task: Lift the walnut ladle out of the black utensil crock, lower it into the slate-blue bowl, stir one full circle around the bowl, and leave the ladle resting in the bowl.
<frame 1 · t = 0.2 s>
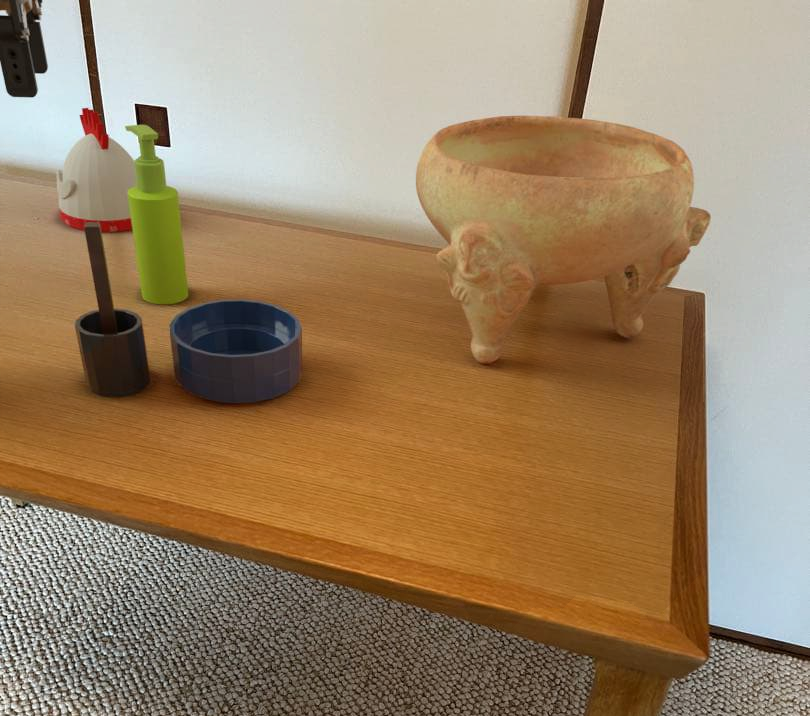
hand: (29, 83, 66), 30 cm above the table, tool pointing down, fingers open, 8 cm apart
mixing bowl: (239, 375, 92), on the table
decorative bowl: (528, 322, 109), on the table
soap dispenser: (163, 295, 107), on the table
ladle: (118, 377, 89), resting on crock
kitchen timer: (108, 217, 127), on the table
crock: (119, 381, 89), on the table
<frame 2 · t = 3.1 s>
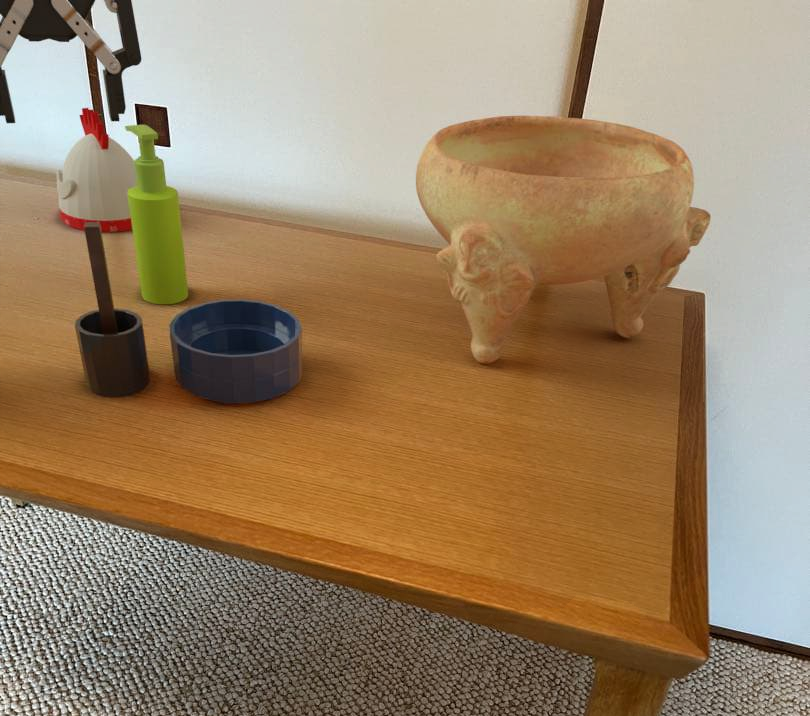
hand: (63, 120, 71), 26 cm above the table, tool pointing down, fingers open, 8 cm apart
nothing on the table moved.
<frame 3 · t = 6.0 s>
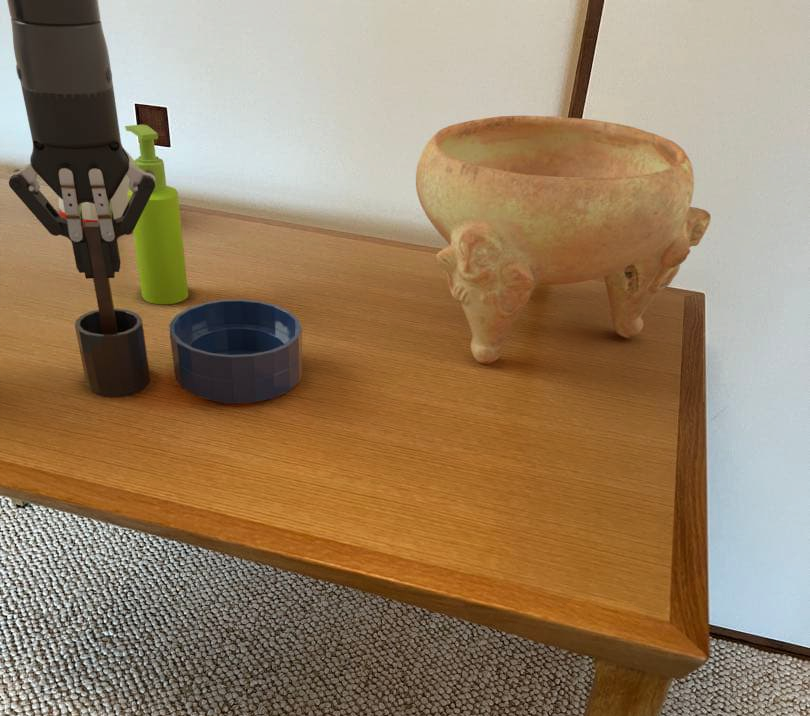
hand: (100, 274, 81), 12 cm above the table, tool pointing down, fingers closed on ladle
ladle: (118, 377, 89), point 1 cm above the table, touching gripper
everything else where it was.
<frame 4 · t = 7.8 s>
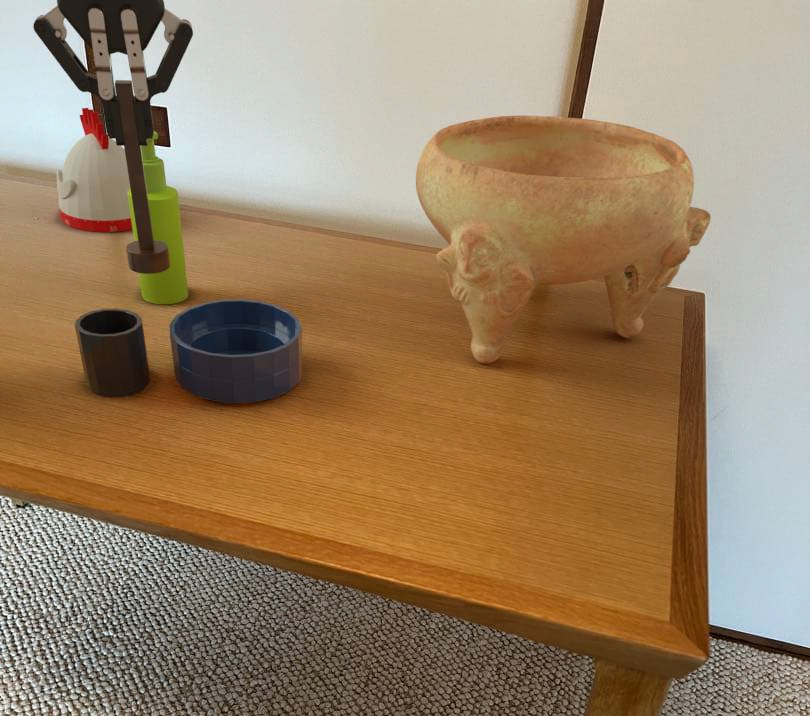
hand: (131, 142, 74), 24 cm above the table, tool pointing down, fingers closed on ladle
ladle: (149, 266, 82), point 13 cm above the table, touching gripper
everything else where it was.
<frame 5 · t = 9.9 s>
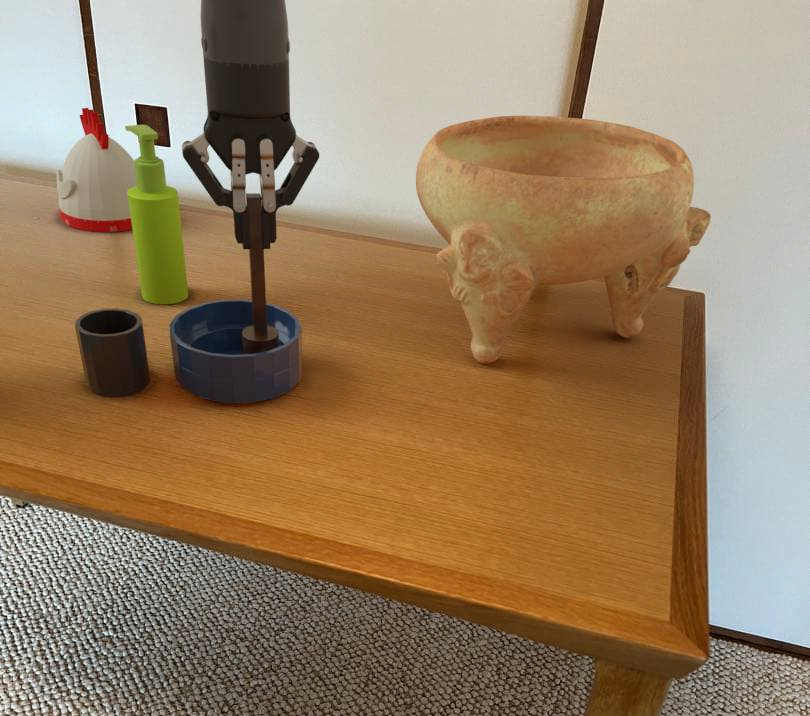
hand: (255, 246, 83), 15 cm above the table, tool pointing down, fingers closed on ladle
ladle: (261, 349, 90), point 3 cm above the table, touching gripper
everything else where it was.
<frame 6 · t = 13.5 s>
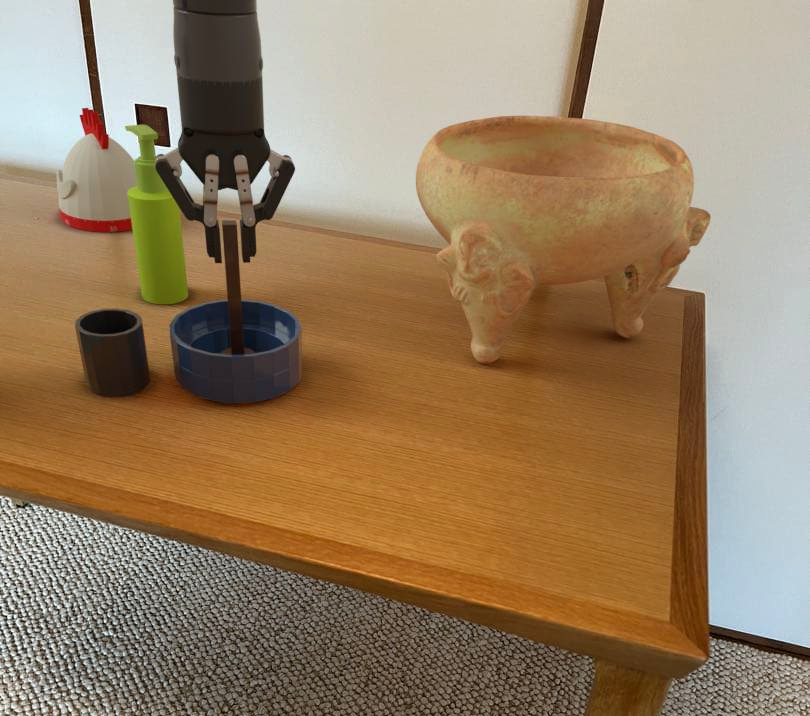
hand: (231, 259, 83), 13 cm above the table, tool pointing down, fingers closed
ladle: (239, 371, 91), point 1 cm above the table, touching mixing bowl
everything else where it was.
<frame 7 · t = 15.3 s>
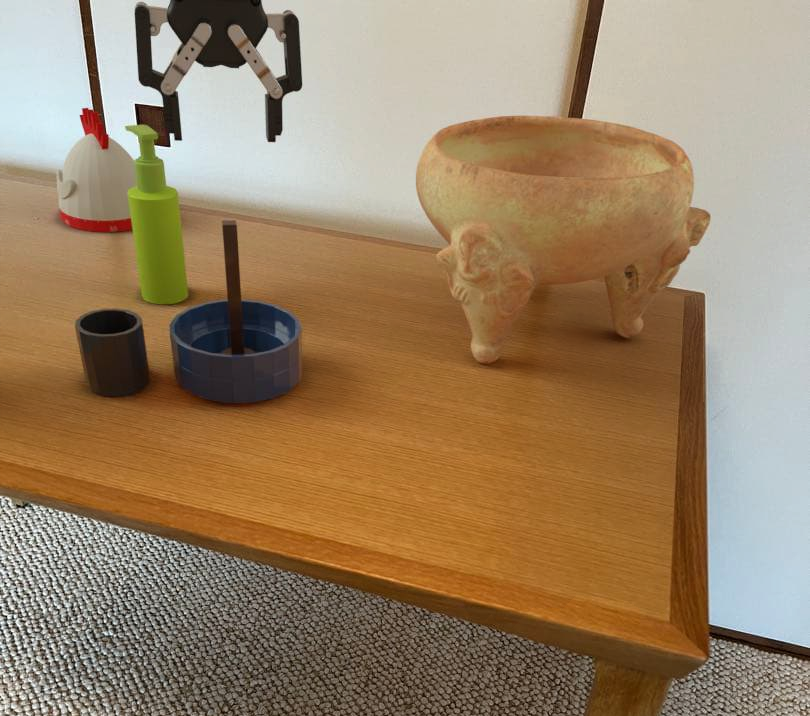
hand: (224, 139, 76), 25 cm above the table, tool pointing down, fingers open, 8 cm apart
nothing on the table moved.
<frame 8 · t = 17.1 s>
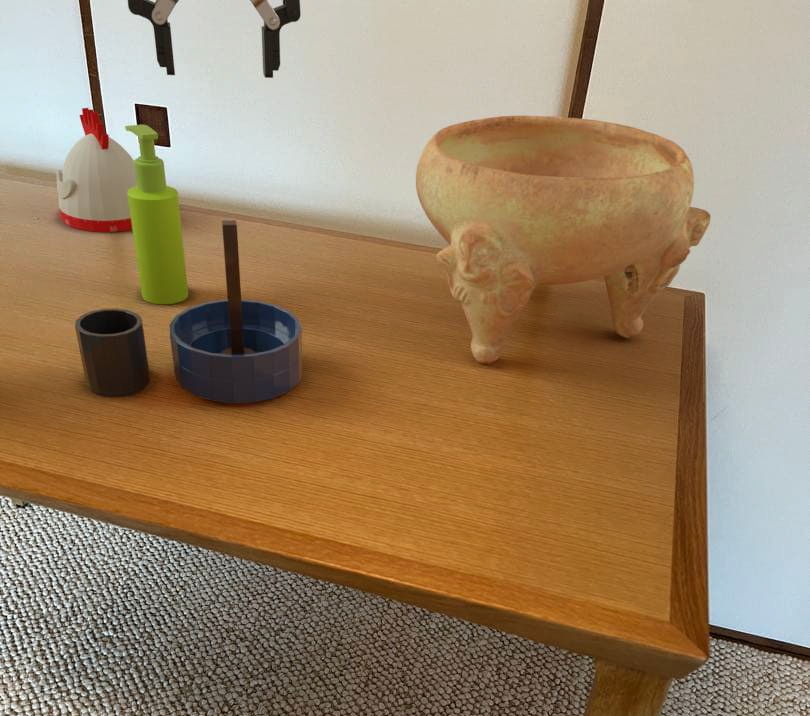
hand: (219, 74, 73), 30 cm above the table, tool pointing down, fingers open, 8 cm apart
nothing on the table moved.
at the end: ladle inside the target area in the mixing bowl (0.0 cm from its centre), point 0.6 cm above the mixing bowl's base; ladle moved 13.0 cm from its start; the gripper is holding nothing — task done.
